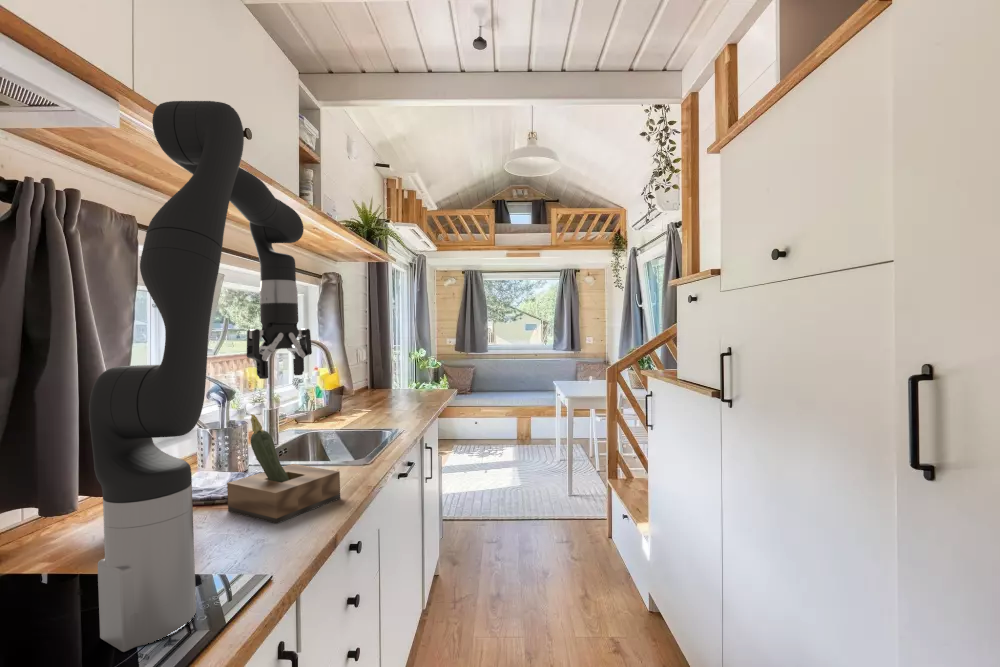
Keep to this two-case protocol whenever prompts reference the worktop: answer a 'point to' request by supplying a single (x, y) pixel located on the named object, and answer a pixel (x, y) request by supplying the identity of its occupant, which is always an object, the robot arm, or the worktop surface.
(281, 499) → the socket block
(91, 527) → the worktop surface
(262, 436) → the vegetable
